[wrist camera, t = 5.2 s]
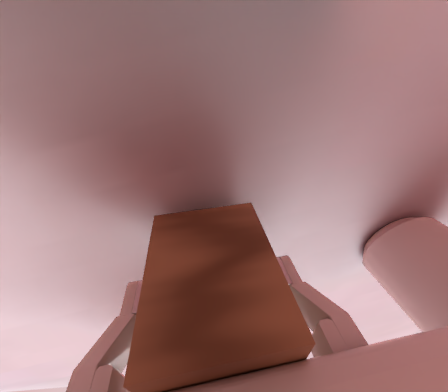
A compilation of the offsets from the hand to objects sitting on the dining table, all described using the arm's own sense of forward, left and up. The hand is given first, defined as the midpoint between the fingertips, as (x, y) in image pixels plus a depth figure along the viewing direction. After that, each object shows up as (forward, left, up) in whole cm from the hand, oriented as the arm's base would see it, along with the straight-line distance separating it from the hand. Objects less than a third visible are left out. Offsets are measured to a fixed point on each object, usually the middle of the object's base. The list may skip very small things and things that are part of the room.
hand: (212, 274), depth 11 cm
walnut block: (0, 0, -2) cm, 2 cm away
